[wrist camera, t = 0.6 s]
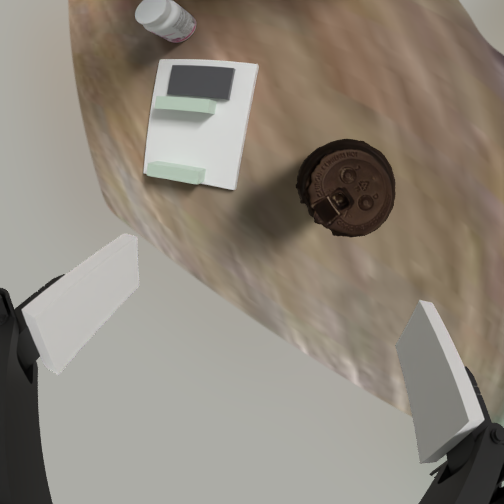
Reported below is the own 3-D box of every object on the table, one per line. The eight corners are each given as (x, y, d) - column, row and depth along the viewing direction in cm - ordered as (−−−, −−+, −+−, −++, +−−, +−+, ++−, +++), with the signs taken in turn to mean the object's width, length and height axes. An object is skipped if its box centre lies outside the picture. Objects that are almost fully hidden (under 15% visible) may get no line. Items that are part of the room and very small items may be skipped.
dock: (163, 60, 30) (150, 55, 27) (259, 66, 29) (253, 59, 26) (147, 172, 37) (133, 176, 34) (236, 188, 36) (228, 194, 33)
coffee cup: (298, 201, 35) (292, 239, 23) (300, 134, 32) (296, 135, 20) (366, 207, 33) (394, 247, 22) (372, 141, 30) (407, 147, 18)
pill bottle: (159, 41, 29) (125, 25, 21) (172, 12, 27) (141, -8, 19) (189, 45, 29) (159, 28, 21) (202, 16, 27) (175, -8, 19)
